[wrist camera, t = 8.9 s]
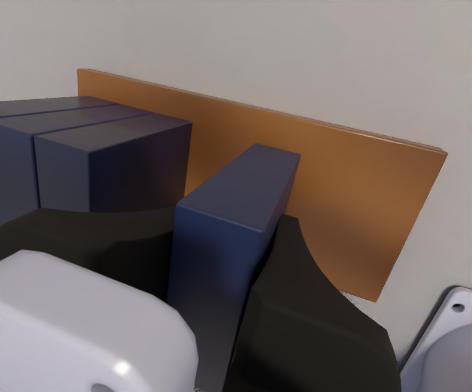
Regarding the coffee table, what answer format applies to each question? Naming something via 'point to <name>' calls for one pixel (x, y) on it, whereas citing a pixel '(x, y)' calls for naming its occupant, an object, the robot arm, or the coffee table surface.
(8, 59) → the coffee table surface
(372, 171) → the oak book board
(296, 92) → the coffee table surface
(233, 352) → the navy book
